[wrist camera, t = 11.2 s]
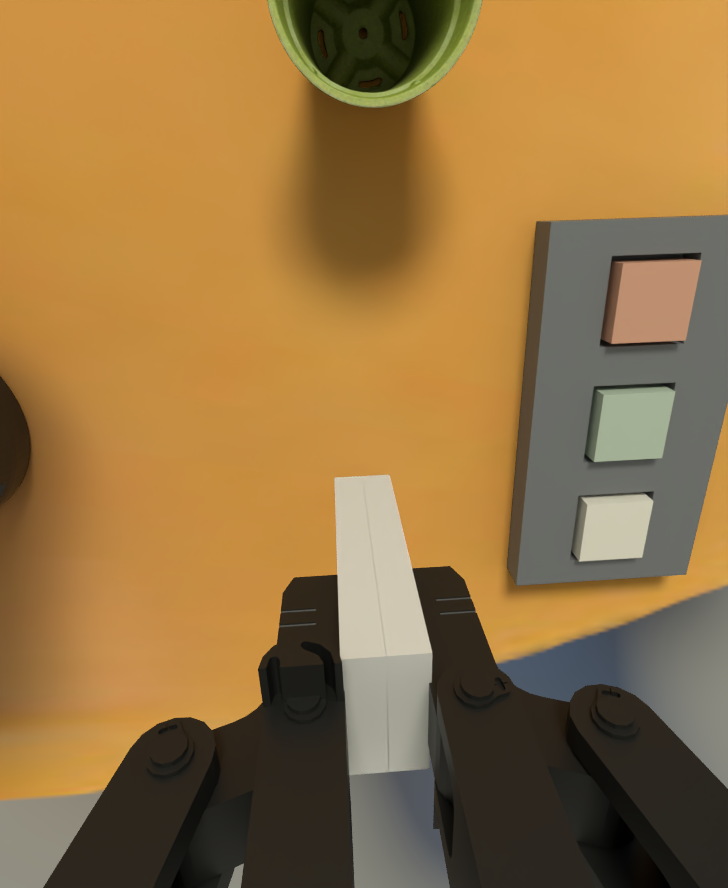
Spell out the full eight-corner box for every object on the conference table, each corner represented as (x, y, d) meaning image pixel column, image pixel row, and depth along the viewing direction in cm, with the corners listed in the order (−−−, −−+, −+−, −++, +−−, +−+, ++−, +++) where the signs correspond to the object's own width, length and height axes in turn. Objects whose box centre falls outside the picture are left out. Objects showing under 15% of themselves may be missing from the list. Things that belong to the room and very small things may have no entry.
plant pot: (456, 110, 33) (498, 77, 25) (304, 149, 33) (298, 129, 25) (429, -88, 29) (468, -202, 21) (258, -43, 29) (233, -138, 21)
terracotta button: (596, 336, 38) (611, 343, 36) (606, 260, 36) (623, 263, 34) (666, 333, 38) (685, 340, 36) (680, 257, 36) (701, 260, 34)
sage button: (580, 449, 41) (594, 461, 39) (589, 385, 39) (603, 395, 37) (645, 446, 41) (662, 458, 39) (657, 382, 39) (675, 391, 37)
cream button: (567, 545, 44) (579, 561, 42) (575, 491, 42) (587, 504, 40) (627, 541, 44) (642, 557, 42) (638, 487, 43) (653, 501, 41)
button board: (506, 566, 46) (516, 585, 44) (536, 221, 35) (551, 221, 33) (668, 556, 47) (686, 574, 44) (744, 214, 36) (773, 214, 34)
